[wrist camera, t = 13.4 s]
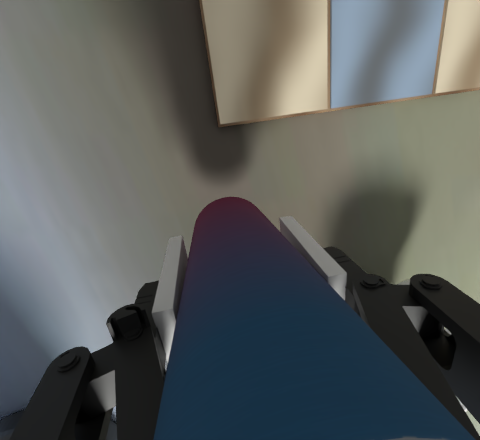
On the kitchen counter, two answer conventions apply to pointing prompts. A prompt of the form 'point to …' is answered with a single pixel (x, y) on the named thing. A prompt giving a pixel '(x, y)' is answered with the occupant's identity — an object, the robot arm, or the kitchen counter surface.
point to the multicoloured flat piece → (336, 54)
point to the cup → (280, 349)
